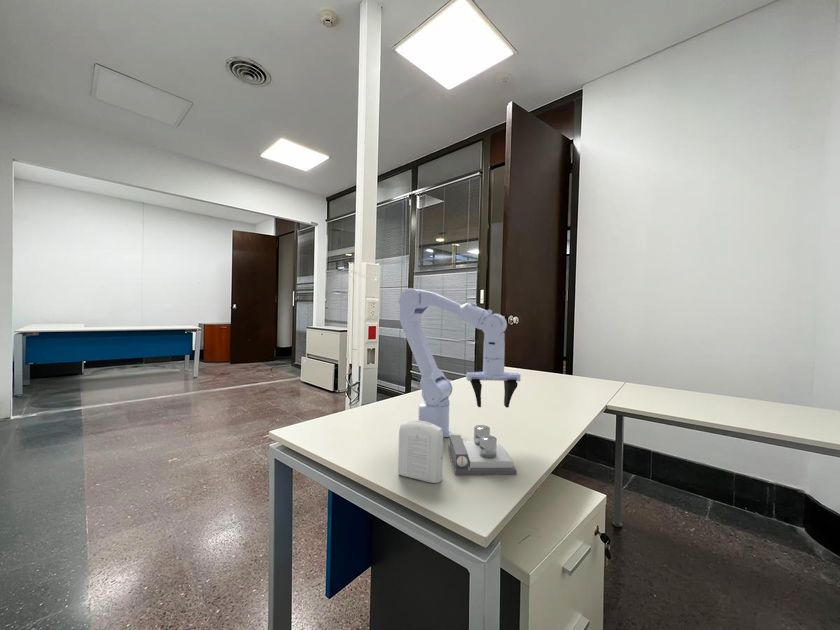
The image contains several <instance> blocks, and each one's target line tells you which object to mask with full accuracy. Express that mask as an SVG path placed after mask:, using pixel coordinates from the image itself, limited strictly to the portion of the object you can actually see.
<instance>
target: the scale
mask: <svg viewBox="0 0 840 630" xmlns="http://www.w3.org/2000/svg"><path fill="white" fill-rule="evenodd" d="M447 446H448V447H447V448H448V449H447V450H448V453H449V456H450V459H451V463H452V467H453V470H454V474H455V475H456V476H457V475H461V476H462V475H463V476H464V475H469V476H470V475H471V476H472V475H473V476H474V475H475V476H476V475H517V471H518V470H517V468H516V467H515V465H514V461H513V459H512V457H511V455H509V452H508V451H507V450H506V448H505V446H504V445H503V444H502V443H501V441H498V440H497V448H496V457H495V458H493V459H486V458H483V457H481V456H480V455H479V446H478V445H476V444H475V443H474V440H473V441H472V440H471V441H469V440H467V441H463V438H462V436H461V434H452V435H450V437H449V445H447Z"/></svg>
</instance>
